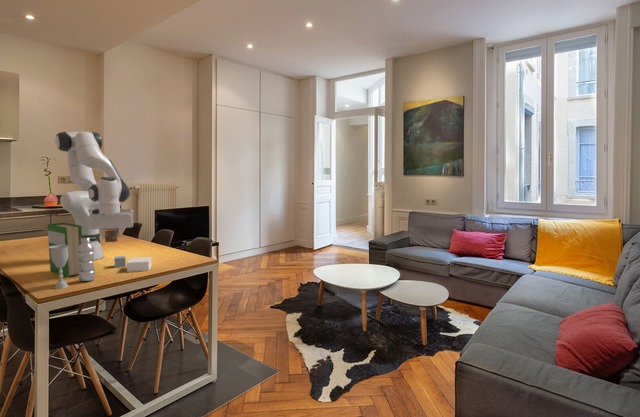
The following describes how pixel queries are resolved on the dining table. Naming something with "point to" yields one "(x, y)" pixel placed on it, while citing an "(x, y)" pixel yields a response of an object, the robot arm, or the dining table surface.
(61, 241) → the hardback book
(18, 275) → the dining table surface
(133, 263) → the base block
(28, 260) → the dining table surface
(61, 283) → the chalice
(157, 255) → the dining table surface
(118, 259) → the blue-grey cube
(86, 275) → the plastic bottle
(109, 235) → the walnut cube
